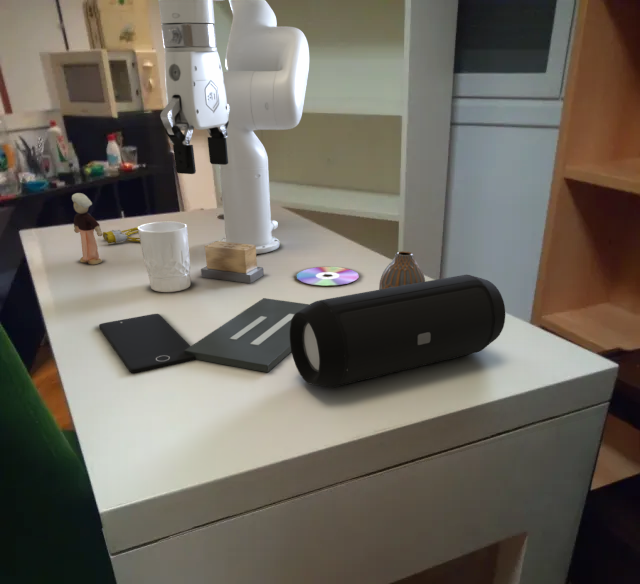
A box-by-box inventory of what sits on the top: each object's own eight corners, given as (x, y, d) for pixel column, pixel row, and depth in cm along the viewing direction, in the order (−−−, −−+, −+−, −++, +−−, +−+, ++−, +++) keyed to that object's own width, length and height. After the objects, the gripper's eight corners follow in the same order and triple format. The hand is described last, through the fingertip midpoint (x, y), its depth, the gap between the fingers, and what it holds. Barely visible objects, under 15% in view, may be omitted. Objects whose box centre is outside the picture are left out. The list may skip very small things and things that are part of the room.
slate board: (263, 303, 94) (263, 297, 93) (334, 313, 90) (334, 307, 89) (185, 357, 77) (184, 349, 76) (267, 372, 72) (267, 364, 72)
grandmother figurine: (70, 262, 115) (54, 193, 108) (84, 257, 118) (69, 190, 111) (102, 266, 112) (88, 196, 106) (115, 261, 115) (102, 192, 109)
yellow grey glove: (105, 233, 136) (104, 224, 135) (175, 229, 139) (174, 220, 138) (101, 246, 125) (99, 236, 124) (177, 241, 129) (176, 232, 128)
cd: (372, 277, 105) (372, 276, 105) (323, 290, 99) (323, 289, 99) (331, 263, 113) (331, 263, 113) (283, 274, 107) (283, 274, 107)
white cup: (183, 295, 98) (175, 233, 93) (139, 292, 99) (128, 231, 94) (201, 280, 104) (194, 222, 99) (159, 278, 106) (150, 220, 101)
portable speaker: (324, 407, 65) (324, 320, 60) (287, 372, 73) (284, 293, 67) (503, 361, 75) (516, 283, 70) (454, 334, 82) (462, 263, 77)
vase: (427, 305, 93) (432, 249, 88) (418, 321, 87) (423, 261, 82) (384, 301, 94) (386, 245, 90) (373, 316, 89) (375, 257, 84)
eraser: (201, 277, 106) (198, 246, 103) (216, 269, 110) (213, 239, 107) (250, 283, 103) (248, 251, 100) (263, 275, 107) (262, 244, 104)
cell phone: (132, 377, 73) (130, 370, 72) (99, 329, 86) (98, 323, 86) (200, 361, 76) (199, 355, 76) (159, 318, 90) (158, 312, 89)
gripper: (177, 38, 77) (193, 178, 86) (242, 40, 91) (250, 162, 100) (130, 39, 80) (150, 176, 89) (200, 41, 93) (211, 160, 102)
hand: (203, 168), depth 94 cm, fingers open, 9 cm apart
